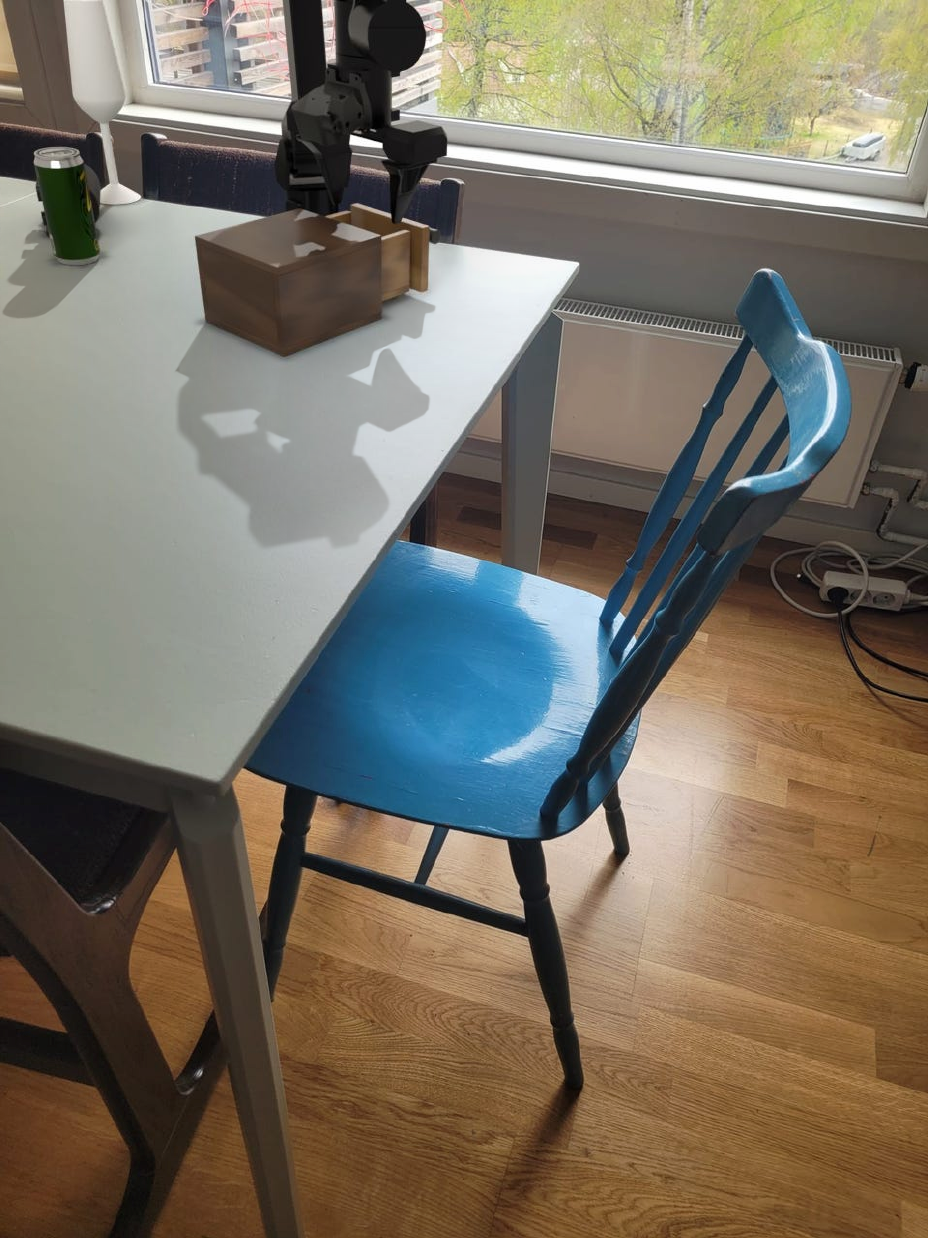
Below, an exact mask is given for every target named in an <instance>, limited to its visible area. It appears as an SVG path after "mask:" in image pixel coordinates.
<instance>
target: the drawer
mask: <svg viewBox="0 0 928 1238" xmlns="http://www.w3.org/2000/svg"><path fill="white" fill-rule="evenodd" d="M349 210H350V211H349ZM349 210H342V211H339V213H335V214H332V215H328V216H325V217H328V218H331V219H334V220H337V221H340V222H343V223H346V224H349V225H352V226H355V227H357V228H360V229H363V230H366V231H369V232H372V233H375V234H378V235H381V257H382V302H385V301H387V300H390V299H393V298H396V297H399V296H401V295H403V294H407V293H409V292H410V290H413V291H416V292H419V293H424V292H426V291H428V290H429V267H430V265H429V263H430V244H433V245H437V244H438V243H439V242H440V240H441V235H442V233H441V231H440V230H438V229H436V228H432V227H430V226H429V225H427V224H424V223H421V222H418V221H416V220H415V221H414V220H412V219H408V218H405V217H403V218H402V221H401V222H400V223H398V224H393V223H392V219H391V212H386V211H383V210H380V209H377V208H373V207H370V206H367V205H364V204H362V203H358V202H357V203H352V204H350V205H349Z"/></svg>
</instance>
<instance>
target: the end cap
mask: <svg viewBox="0 0 928 1238" xmlns="http://www.w3.org/2000/svg"><path fill="white" fill-rule="evenodd" d="M84 167H85V172H86V178H87V183H88V188H89V194H90V199H91V204H92V210H93V215H94V220H95V224H97V222H98V219H99V217H100V211H101V203H100V194H101V190H102V188H101V183H100V179H99V177H98V174H96V172H95V170H93V169H92V168H91V167H90V166H89V165H87V164H86V163H84ZM35 181H36V182H35V192H36V196H37V201H38V203H39V202H40V203H41V202H42V198H41V194H40V189H39V184H38V180H37V179H36V180H35ZM40 214H41V219H42V220H41V221H42V224H43V226H45V235H46V236H47V237H48V238H50V235H49V230H48V226H47V221H46V216H45V212H44V210H42V211H41V210H40Z"/></svg>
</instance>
